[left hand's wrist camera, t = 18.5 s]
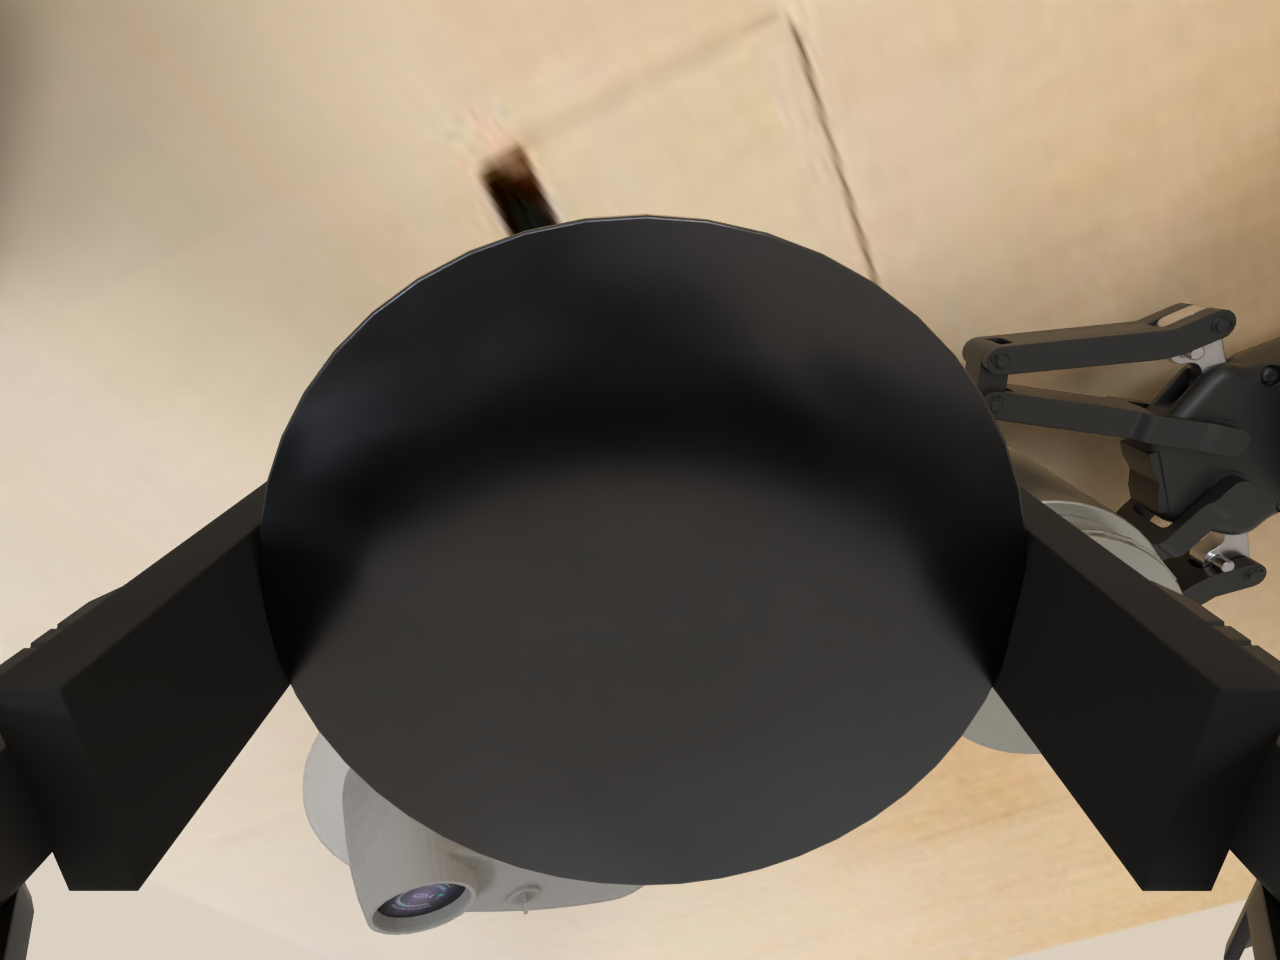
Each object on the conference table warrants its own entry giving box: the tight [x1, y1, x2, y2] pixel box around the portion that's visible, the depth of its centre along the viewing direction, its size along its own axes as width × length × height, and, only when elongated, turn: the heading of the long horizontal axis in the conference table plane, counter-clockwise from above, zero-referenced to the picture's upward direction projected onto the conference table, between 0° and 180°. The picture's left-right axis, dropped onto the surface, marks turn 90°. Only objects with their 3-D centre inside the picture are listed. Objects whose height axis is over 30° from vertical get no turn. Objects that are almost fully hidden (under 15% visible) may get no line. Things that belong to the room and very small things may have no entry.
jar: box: [962, 445, 1183, 754], centre depth 31 cm, size 10×10×15 cm
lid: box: [259, 214, 1026, 886], centre depth 11 cm, size 11×11×2 cm
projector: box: [303, 733, 645, 935], centre depth 38 cm, size 22×23×15 cm
